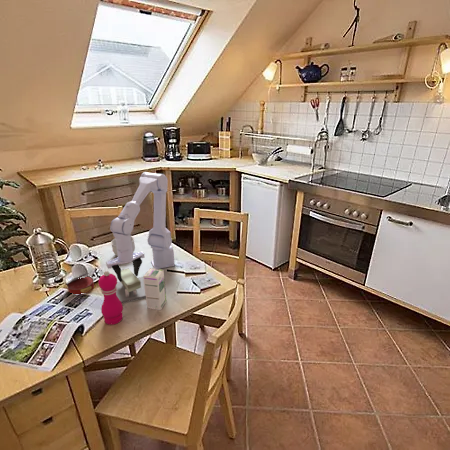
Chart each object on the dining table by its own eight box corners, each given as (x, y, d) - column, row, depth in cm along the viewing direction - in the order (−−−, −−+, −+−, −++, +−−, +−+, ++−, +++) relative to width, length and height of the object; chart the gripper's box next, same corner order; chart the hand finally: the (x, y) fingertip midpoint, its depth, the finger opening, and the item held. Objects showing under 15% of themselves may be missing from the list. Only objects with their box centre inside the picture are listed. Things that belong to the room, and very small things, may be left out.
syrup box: (161, 310, 117) (158, 277, 111) (146, 308, 118) (143, 275, 112) (166, 301, 122) (164, 269, 116) (152, 299, 123) (149, 267, 117)
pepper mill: (106, 312, 115) (98, 266, 107) (126, 312, 116) (119, 265, 108) (100, 326, 109) (91, 277, 101) (121, 325, 109) (114, 276, 101)
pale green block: (141, 287, 123) (140, 281, 122) (128, 292, 121) (128, 285, 119) (129, 274, 132) (128, 268, 131) (117, 278, 129) (116, 272, 128)
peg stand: (148, 277, 137) (147, 269, 136) (155, 295, 126) (155, 286, 124) (105, 286, 130) (103, 278, 129) (108, 306, 119) (107, 297, 117)
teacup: (132, 260, 151) (130, 245, 148) (109, 259, 151) (107, 244, 148) (139, 246, 164) (138, 232, 161) (119, 246, 164) (117, 232, 161)
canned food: (74, 304, 127) (56, 289, 121) (78, 288, 135) (62, 273, 130) (98, 291, 126) (82, 275, 121) (101, 276, 135) (85, 260, 129)
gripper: (138, 239, 127) (141, 267, 132) (101, 248, 119) (106, 279, 124) (145, 245, 122) (148, 275, 127) (108, 256, 114) (113, 287, 119)
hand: (128, 277), depth 125 cm, fingers open, 6 cm apart
